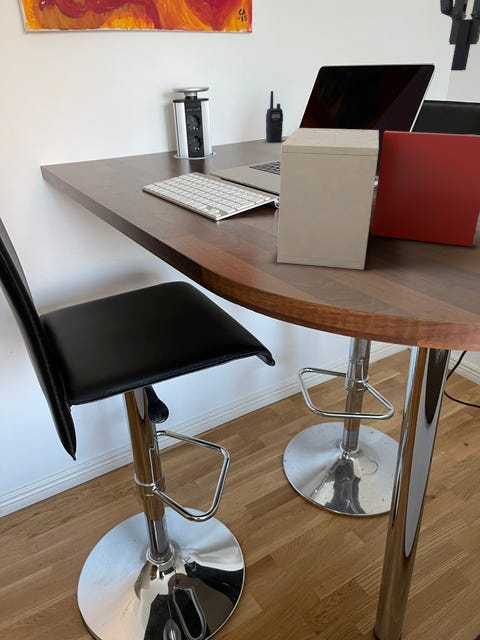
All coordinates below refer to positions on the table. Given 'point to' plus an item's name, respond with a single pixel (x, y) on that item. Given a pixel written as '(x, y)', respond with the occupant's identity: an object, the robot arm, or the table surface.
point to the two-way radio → (274, 122)
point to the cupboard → (326, 196)
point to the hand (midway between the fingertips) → (458, 70)
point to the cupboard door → (428, 187)
